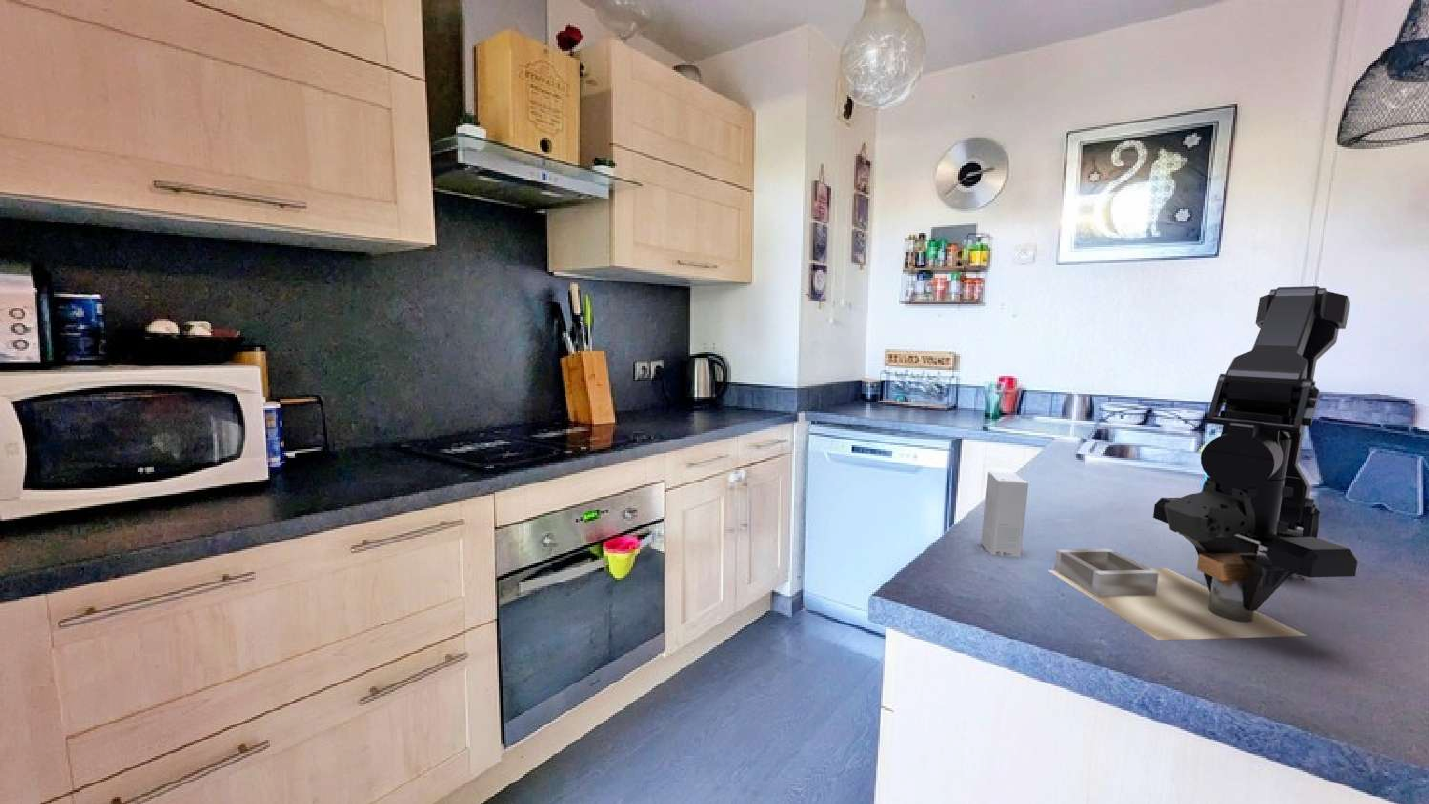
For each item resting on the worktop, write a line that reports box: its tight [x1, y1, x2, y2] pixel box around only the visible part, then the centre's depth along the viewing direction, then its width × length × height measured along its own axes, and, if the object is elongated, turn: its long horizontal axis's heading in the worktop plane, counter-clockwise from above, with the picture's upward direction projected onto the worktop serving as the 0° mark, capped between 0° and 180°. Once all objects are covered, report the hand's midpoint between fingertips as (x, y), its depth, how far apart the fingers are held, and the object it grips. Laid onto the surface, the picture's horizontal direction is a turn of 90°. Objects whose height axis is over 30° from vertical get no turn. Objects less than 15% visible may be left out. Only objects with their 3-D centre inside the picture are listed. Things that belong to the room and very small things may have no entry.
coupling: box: [1196, 553, 1256, 623], centre depth 68 cm, size 7×4×7 cm, turn 95°
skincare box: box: [981, 471, 1029, 558], centre depth 87 cm, size 6×4×12 cm
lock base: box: [1047, 548, 1307, 642], centre depth 71 cm, size 18×18×4 cm
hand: (1231, 601), depth 68 cm, fingers closed on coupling, 4 cm apart
